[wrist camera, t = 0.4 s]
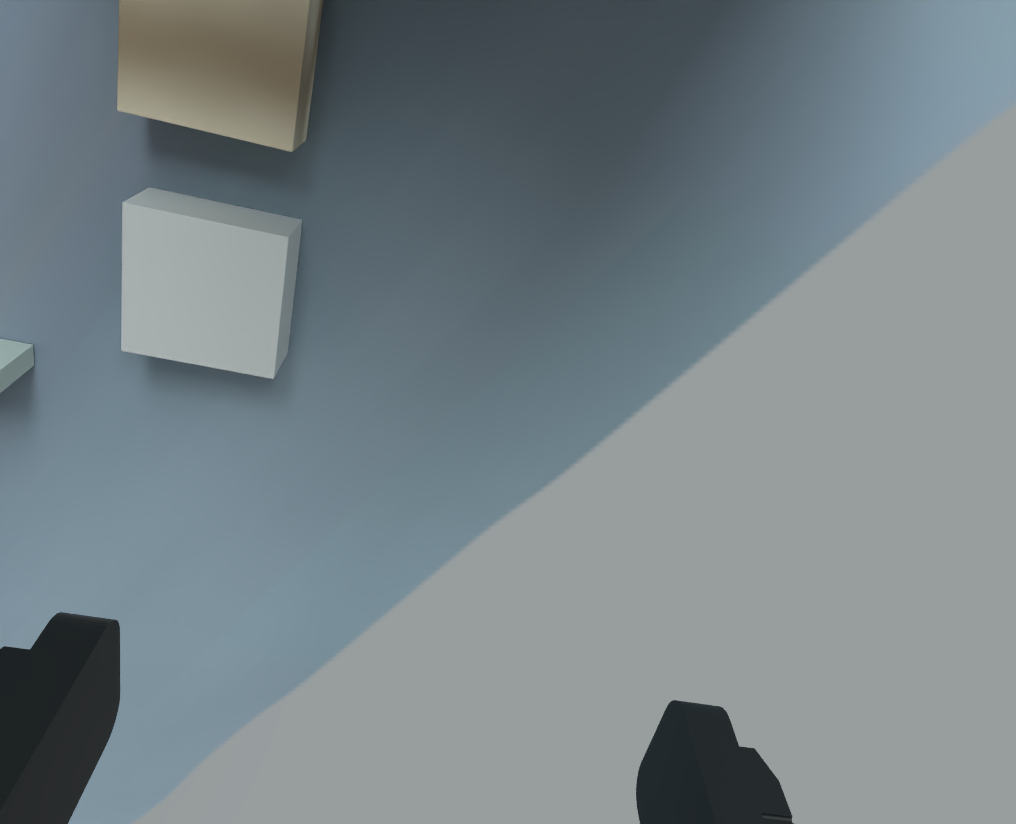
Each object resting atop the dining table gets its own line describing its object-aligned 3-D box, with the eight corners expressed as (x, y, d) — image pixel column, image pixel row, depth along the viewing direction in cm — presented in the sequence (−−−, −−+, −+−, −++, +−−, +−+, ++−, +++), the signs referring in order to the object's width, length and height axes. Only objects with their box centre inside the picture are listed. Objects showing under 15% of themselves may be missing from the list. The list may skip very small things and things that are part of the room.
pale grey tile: (152, 185, 31) (122, 202, 29) (304, 218, 32) (288, 237, 30) (149, 323, 34) (121, 350, 31) (289, 350, 35) (273, 379, 32)
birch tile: (155, -79, 27) (120, -88, 25) (328, -32, 28) (313, -36, 26) (148, 100, 30) (117, 110, 27) (307, 138, 31) (292, 151, 28)
